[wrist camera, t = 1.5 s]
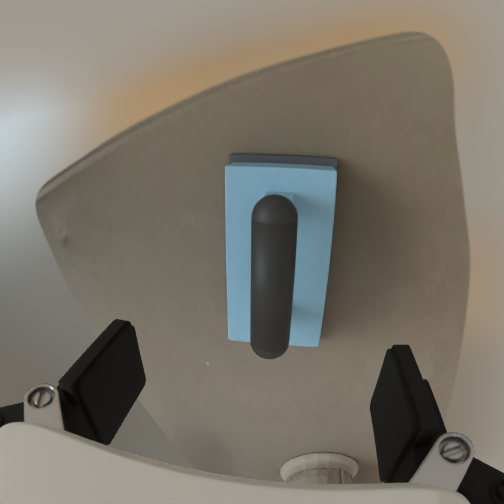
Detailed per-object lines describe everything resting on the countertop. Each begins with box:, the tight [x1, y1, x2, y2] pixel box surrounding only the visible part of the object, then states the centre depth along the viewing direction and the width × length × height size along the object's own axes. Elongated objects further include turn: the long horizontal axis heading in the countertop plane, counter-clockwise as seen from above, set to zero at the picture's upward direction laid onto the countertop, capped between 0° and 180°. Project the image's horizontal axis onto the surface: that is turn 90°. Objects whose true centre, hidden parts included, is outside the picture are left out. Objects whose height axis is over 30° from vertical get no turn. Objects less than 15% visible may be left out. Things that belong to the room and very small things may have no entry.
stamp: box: [225, 154, 338, 359], centre depth 20 cm, size 14×7×8 cm, turn 179°
